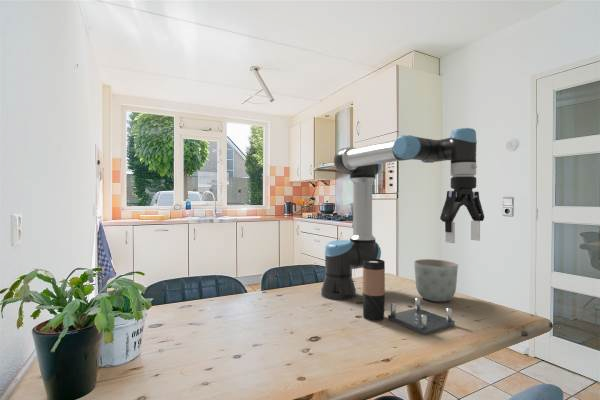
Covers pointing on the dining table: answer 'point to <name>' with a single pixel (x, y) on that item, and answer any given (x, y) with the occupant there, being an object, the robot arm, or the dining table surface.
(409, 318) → the stand
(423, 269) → the planter
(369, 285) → the travel mug
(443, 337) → the dining table surface
